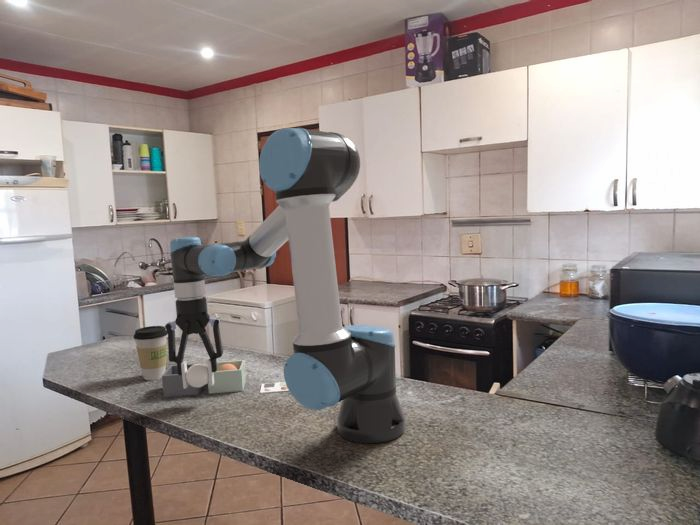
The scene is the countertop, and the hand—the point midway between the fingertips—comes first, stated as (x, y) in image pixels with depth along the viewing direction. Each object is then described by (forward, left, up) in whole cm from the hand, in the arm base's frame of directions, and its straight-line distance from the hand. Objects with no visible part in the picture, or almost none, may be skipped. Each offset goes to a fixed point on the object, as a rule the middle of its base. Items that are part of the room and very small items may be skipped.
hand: (199, 385), depth 131 cm
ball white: (0, 0, +3) cm, 3 cm away
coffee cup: (+25, +18, -5) cm, 32 cm away
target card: (+7, -20, -5) cm, 22 cm away
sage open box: (+11, -6, -5) cm, 14 cm away
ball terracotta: (+11, -6, -1) cm, 13 cm away
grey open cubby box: (+11, +6, -5) cm, 14 cm away
